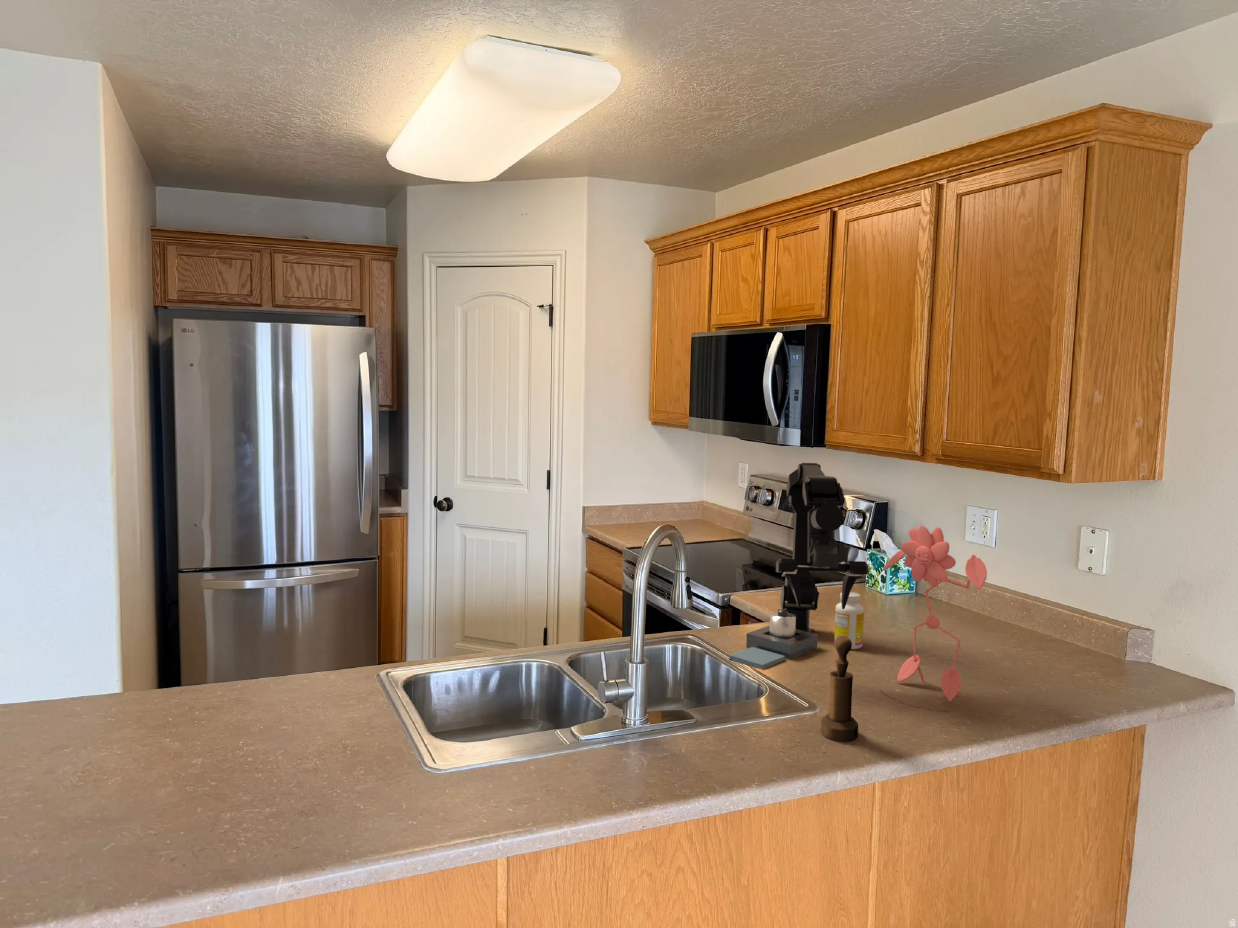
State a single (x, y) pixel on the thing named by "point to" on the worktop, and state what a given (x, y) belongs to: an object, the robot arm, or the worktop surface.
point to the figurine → (930, 564)
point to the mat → (757, 657)
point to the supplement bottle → (850, 620)
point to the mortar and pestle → (840, 698)
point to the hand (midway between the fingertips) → (821, 608)
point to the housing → (782, 642)
